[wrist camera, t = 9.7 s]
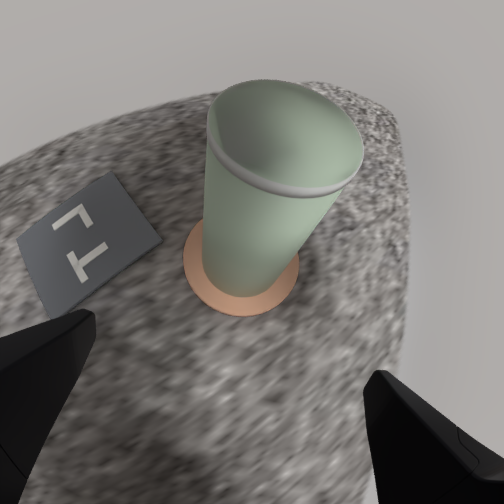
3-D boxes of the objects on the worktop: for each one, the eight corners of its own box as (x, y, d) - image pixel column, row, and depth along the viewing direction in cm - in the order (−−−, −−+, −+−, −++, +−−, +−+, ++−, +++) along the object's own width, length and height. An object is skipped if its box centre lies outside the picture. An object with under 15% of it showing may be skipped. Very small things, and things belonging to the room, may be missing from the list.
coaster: (235, 341, 18) (236, 340, 18) (161, 250, 20) (159, 247, 19) (318, 268, 21) (321, 265, 21) (246, 193, 23) (247, 189, 22)
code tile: (53, 323, 17) (51, 321, 16) (17, 240, 18) (15, 238, 18) (162, 241, 20) (162, 239, 20) (112, 173, 22) (111, 170, 22)
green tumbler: (224, 312, 18) (259, 214, 8) (188, 240, 20) (183, 94, 9) (296, 276, 20) (391, 165, 9) (257, 212, 22) (306, 74, 11)
